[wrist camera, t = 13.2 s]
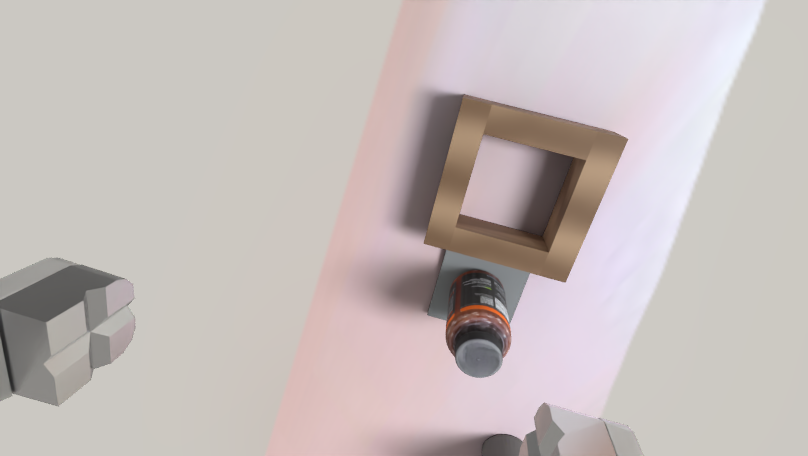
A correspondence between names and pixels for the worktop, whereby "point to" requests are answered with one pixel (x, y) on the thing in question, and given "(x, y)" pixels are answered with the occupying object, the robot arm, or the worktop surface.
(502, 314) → the supplement bottle
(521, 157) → the worktop surface
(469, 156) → the frame
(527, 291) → the worktop surface
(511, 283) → the grey mat
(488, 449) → the bottle
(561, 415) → the robot arm
